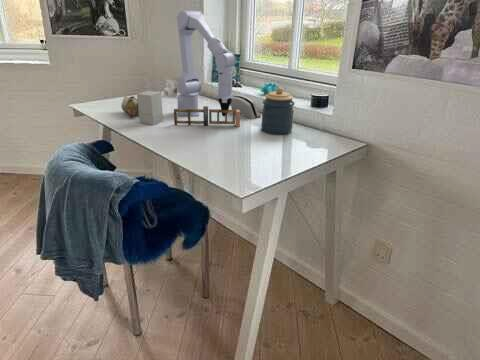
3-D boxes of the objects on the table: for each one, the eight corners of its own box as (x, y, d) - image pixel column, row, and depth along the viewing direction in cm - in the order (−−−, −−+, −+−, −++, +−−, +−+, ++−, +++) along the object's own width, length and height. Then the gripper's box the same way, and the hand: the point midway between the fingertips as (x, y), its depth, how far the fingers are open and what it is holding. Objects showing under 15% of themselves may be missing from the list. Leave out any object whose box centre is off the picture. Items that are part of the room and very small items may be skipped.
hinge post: (203, 125, 151) (203, 107, 148) (203, 124, 153) (203, 106, 149) (208, 126, 151) (208, 107, 148) (208, 124, 153) (208, 106, 149)
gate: (209, 123, 151) (209, 110, 149) (209, 123, 152) (209, 109, 150) (234, 124, 152) (235, 110, 149) (234, 123, 153) (235, 109, 150)
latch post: (236, 126, 151) (236, 111, 149) (235, 124, 155) (235, 109, 152) (239, 126, 151) (240, 111, 149) (239, 124, 155) (239, 109, 152)
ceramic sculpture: (134, 91, 168) (152, 98, 159) (136, 108, 172) (153, 117, 163) (113, 94, 161) (131, 102, 152) (115, 112, 165) (133, 121, 156)
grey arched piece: (261, 117, 166) (257, 98, 160) (254, 122, 164) (249, 102, 158) (239, 109, 178) (234, 91, 172) (232, 113, 176) (227, 95, 170)
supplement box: (163, 121, 155) (161, 92, 150) (153, 125, 149) (150, 95, 144) (150, 118, 158) (147, 90, 153) (139, 123, 152) (136, 93, 147)
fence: (174, 125, 150) (173, 109, 147) (174, 124, 152) (174, 108, 149) (204, 125, 151) (203, 109, 148) (204, 124, 152) (203, 109, 150)
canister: (255, 127, 152) (257, 85, 144) (282, 124, 157) (285, 83, 149) (269, 136, 141) (273, 91, 134) (297, 133, 146) (302, 90, 138)
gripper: (234, 87, 140) (234, 120, 146) (235, 80, 153) (234, 111, 159) (216, 86, 140) (216, 120, 146) (218, 79, 153) (218, 111, 159)
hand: (224, 115), depth 152 cm, fingers closed
